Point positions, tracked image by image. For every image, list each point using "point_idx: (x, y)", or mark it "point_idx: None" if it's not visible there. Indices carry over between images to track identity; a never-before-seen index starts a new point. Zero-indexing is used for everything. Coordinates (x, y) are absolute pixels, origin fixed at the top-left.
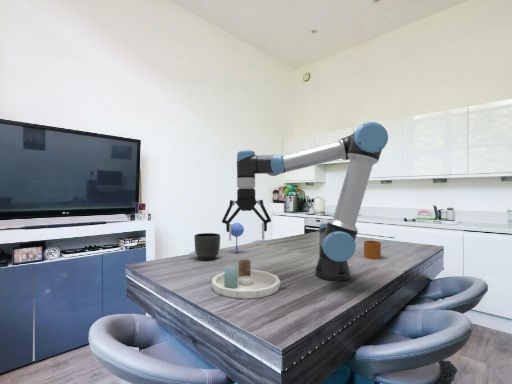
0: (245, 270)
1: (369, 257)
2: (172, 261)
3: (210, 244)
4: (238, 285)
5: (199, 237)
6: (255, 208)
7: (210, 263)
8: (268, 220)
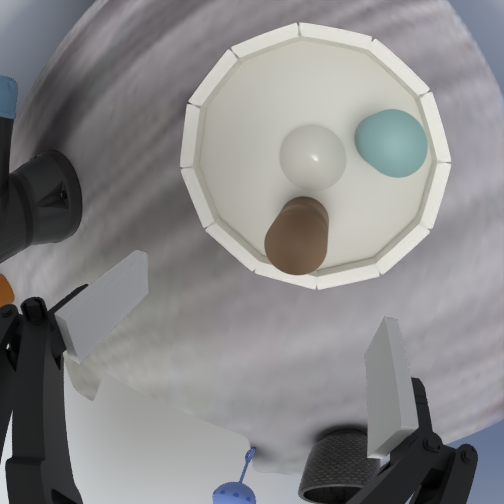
0: (302, 205)
1: (6, 284)
2: (435, 431)
3: (345, 463)
4: (349, 139)
5: None
6: (7, 478)
7: (356, 407)
8: (11, 317)
